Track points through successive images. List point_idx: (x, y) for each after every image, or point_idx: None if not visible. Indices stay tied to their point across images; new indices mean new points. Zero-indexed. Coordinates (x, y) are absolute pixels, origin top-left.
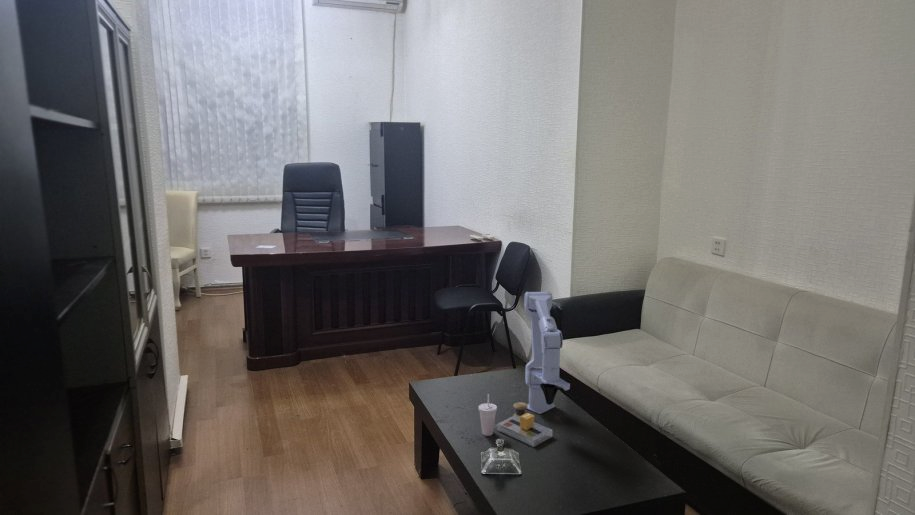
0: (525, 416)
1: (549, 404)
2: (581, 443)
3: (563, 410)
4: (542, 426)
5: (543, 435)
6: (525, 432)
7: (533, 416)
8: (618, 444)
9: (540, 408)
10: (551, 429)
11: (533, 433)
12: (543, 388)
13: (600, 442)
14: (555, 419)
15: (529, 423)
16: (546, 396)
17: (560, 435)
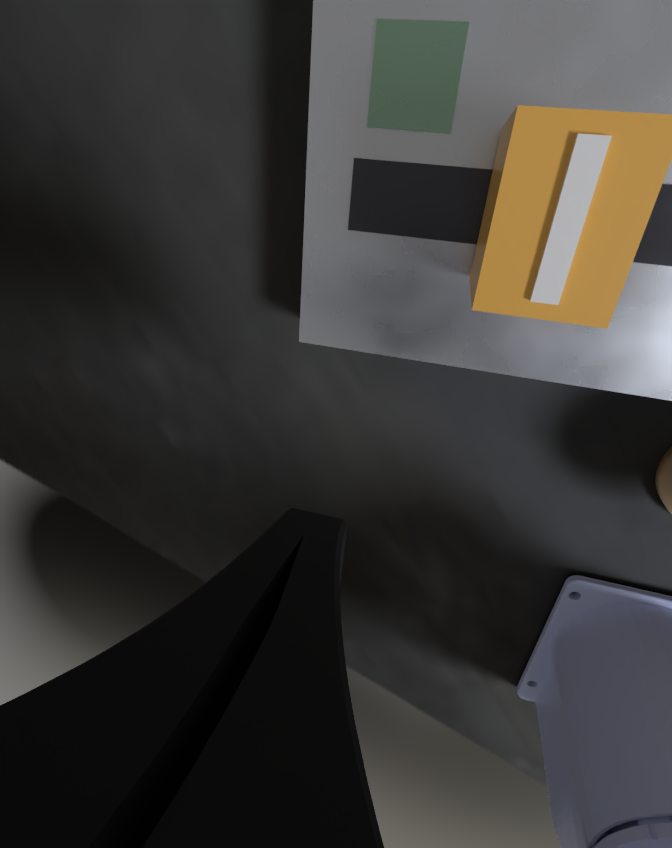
0: (581, 168)
1: (287, 512)
2: (126, 360)
3: (448, 664)
4: (404, 342)
5: (308, 193)
6: (497, 79)
7: (476, 287)
8: (15, 463)
9: (590, 625)
10: (308, 340)
11: (400, 130)
12: (260, 822)
13: (75, 434)
14: (434, 555)
15: (493, 185)
16: (286, 606)
17: (284, 377)
